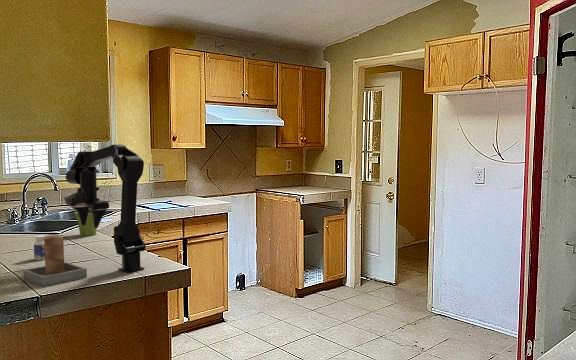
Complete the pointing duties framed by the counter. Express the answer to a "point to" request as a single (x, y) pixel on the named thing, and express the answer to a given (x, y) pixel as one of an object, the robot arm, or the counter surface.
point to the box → (55, 275)
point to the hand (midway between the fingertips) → (89, 226)
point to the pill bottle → (39, 248)
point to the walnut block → (54, 254)
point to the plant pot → (86, 225)
